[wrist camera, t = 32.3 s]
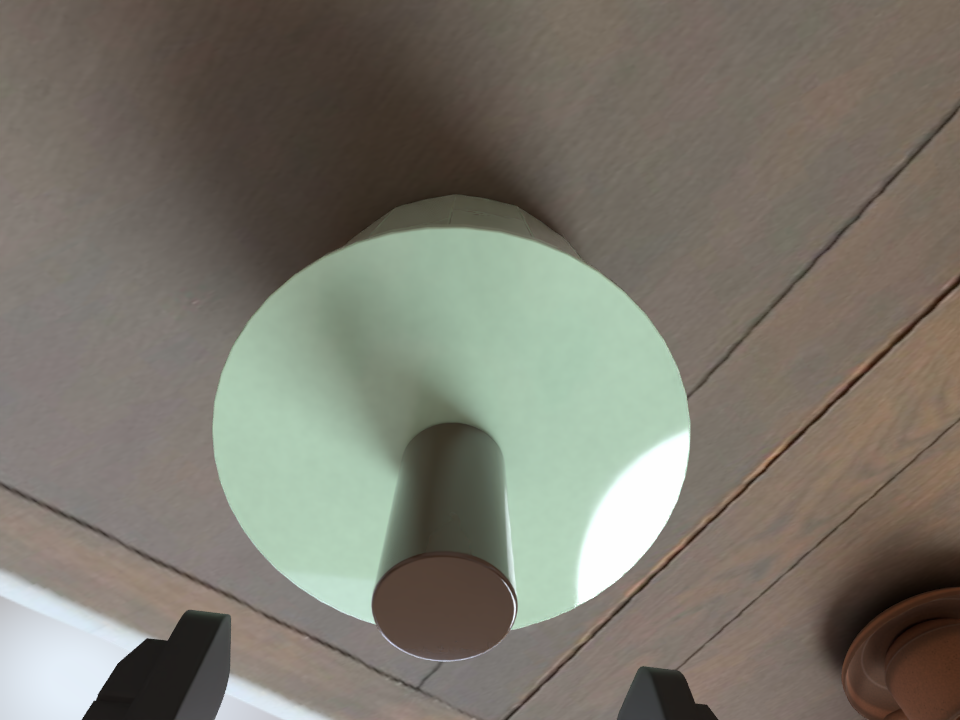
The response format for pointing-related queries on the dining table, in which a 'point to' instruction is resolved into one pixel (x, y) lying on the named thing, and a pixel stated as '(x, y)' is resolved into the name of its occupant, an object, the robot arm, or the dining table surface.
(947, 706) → the cup and saucer
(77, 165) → the dining table surface
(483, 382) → the jar lid
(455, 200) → the jar
